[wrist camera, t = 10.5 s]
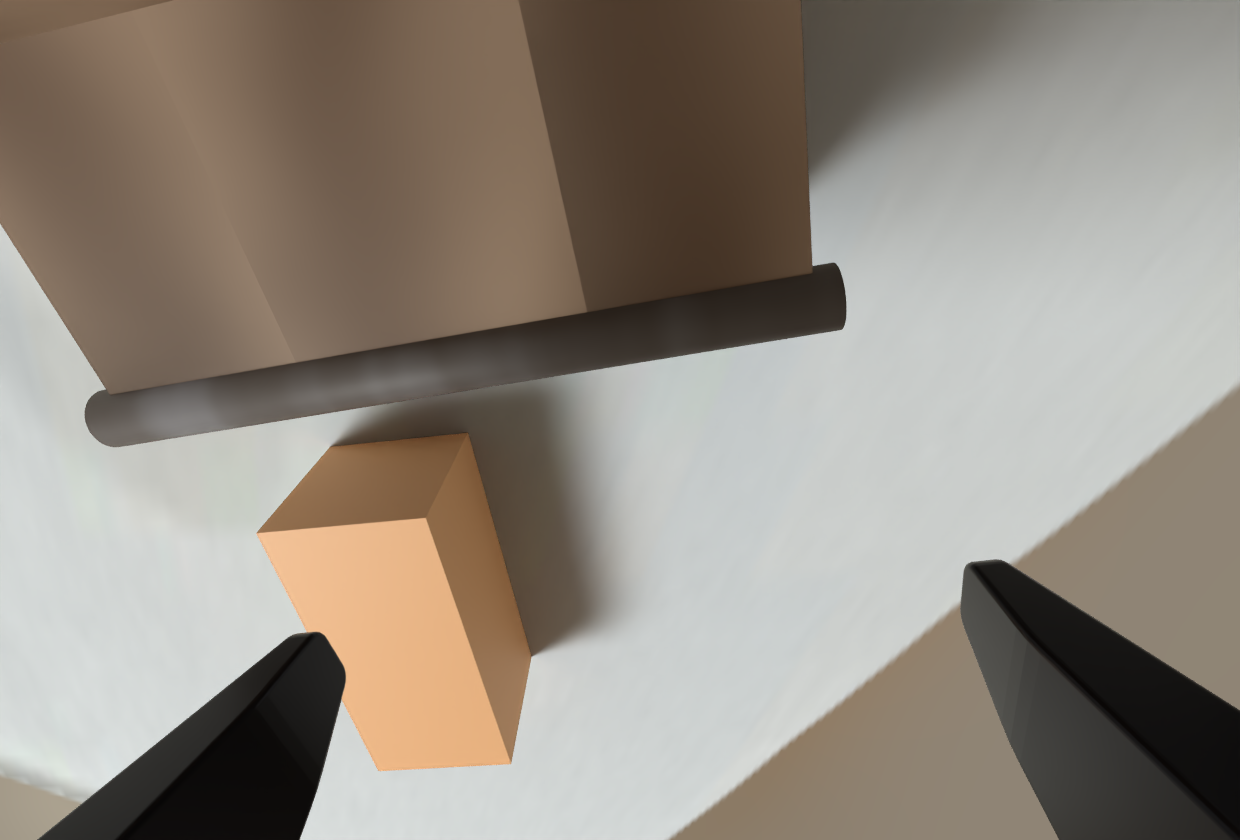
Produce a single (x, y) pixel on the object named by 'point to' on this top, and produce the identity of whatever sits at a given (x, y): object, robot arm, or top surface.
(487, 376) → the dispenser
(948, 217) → the top surface
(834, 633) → the top surface
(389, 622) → the orange rectangular block
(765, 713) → the top surface
